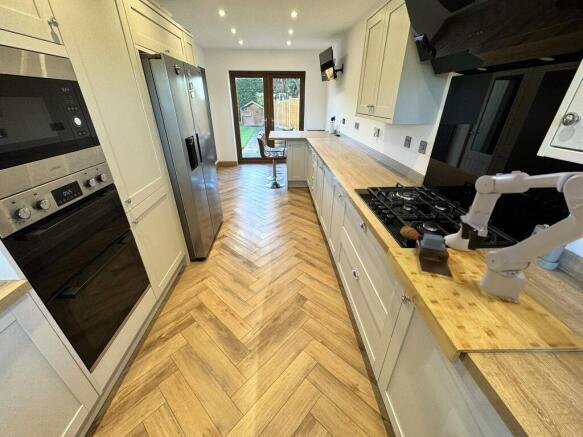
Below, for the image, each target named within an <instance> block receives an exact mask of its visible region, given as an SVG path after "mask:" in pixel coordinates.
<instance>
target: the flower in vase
mask: <svg viewBox="0 0 583 437" xmlns="http://www.w3.org/2000/svg"><path fill="white" fill-rule="evenodd" d="M471 207H472V205H470V206H469V209H468V212H467V213H469V212H470V210H471ZM465 217H466V215H461V216H460V220H462V219H466V218H465ZM461 234H462V224H461V226H460V229H459V230H458V232H456V233H451V234H447V235H445V236H444V237H443V239H446V241H445V246H446V247H449V248H450V249H453V250H456V251H459V252H471V251H472V250H469V249H468V242H469V239H468V240H467V239H462V238H461Z"/></svg>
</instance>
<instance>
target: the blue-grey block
mask: <svg viewBox="0 0 583 437" xmlns="http://www.w3.org/2000/svg"><path fill="white" fill-rule="evenodd" d="M423 236H424V237H423V240H421V245H422V247H423V248H429V249H435V250H441V251H445V249H447V247H446V245H445V246H444V244H443V242H444V240H443V239H444V237H443V236H442V235H439V234H438V235H437V234H432V233H424V234H423ZM445 247H446V248H445Z"/></svg>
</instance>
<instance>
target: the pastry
mask: <svg viewBox="0 0 583 437" xmlns="http://www.w3.org/2000/svg"><path fill="white" fill-rule="evenodd" d="M399 233H400V235H401V236H402V237H404V238H405V239H410V240H413V241H417V238H418V235H421V234H420V233H419V232H418V230H416V229H415V228H413V227H411V226H409V225H405V226H403V227H402V228H401V229H400V231H399Z"/></svg>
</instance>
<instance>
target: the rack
mask: <svg viewBox="0 0 583 437" xmlns="http://www.w3.org/2000/svg"><path fill="white" fill-rule="evenodd" d="M423 237H424V235H423V234H422V235H421V234H420V235H418V238H417V240H416V242H415V246H414V247H415V250H416V254H417V257H418V263H419V267H420V271H421V272H423V273H429V274H434V275H438V276H443V277H448V278H454V276H453V273H452V271H451V268H450V266H449V264H448V260H449V258H450V253H449V251H448V248H447V246H446V244H445V241H446V239H444V238H443V240H444V242H443V244H444V246H445V248H446V249H445V251H441V250H435V249H429V248H423V247H422V245H421V240H423ZM423 254H427V255H432V256H438V257H441V260H442V261H441V260H437V259H436V260H435V259H430V258H424V257H423Z"/></svg>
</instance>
